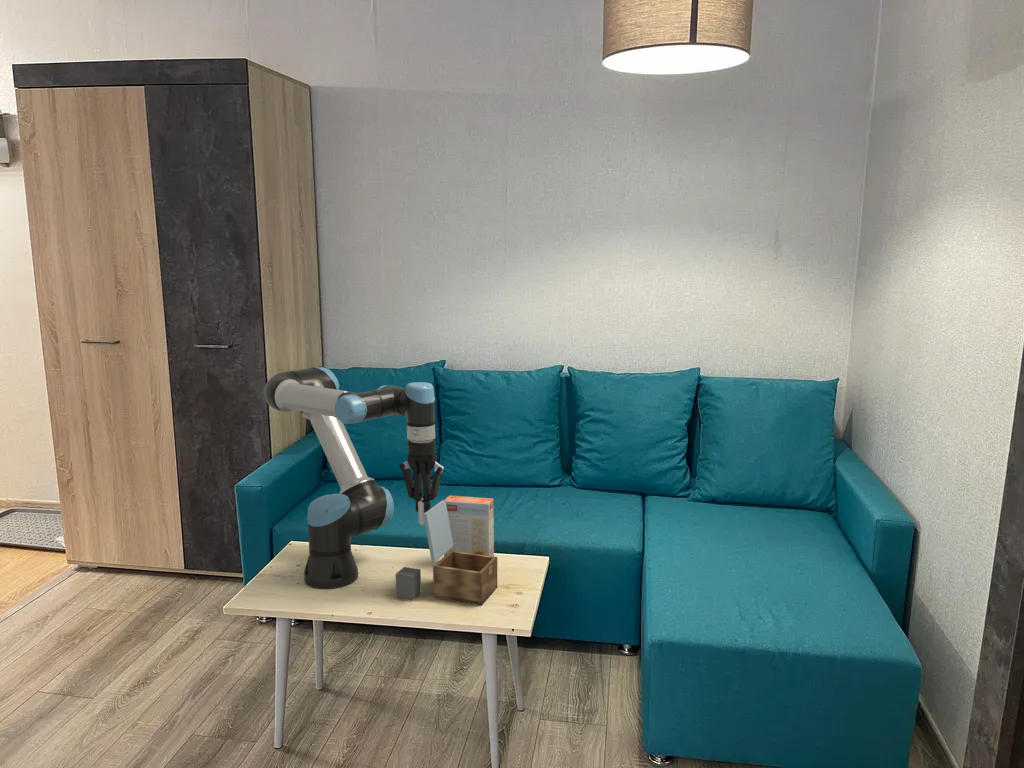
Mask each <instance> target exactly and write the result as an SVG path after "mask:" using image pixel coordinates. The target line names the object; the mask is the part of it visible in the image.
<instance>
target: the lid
mask: <svg viewBox="0 0 1024 768" xmlns="http://www.w3.org/2000/svg"><path fill="white" fill-rule="evenodd" d="M423 516H424V522H425V524H424V526H425V532H426V538H427V543H428V550H429V554H430V559H431V563H437V562H438V561H439V559H441V558H442V557H444V554H445V553H446V552H447V551H448V550H449V549H450V548H452V547H453V540H452V535H451V529H450V523H449V518H448V512H447V506H446V500H445V499H443V500H441V501H439V502H437V504H435V505H434V506H432V507H430V510H428V511H427V512H426V513H424V514H423Z"/></svg>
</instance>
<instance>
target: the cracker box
mask: <svg viewBox="0 0 1024 768" xmlns="http://www.w3.org/2000/svg"><path fill="white" fill-rule="evenodd" d="M444 500H446V506H447V512H448V518H449V523H450V529H451V535H452V540H453V547H452V548H450V549H449V550H448V551H447V552H446V553H445V554H444V555H443V557H444V556H445V555H447V554H448V553H449V552H450V551H458V552H465V553H472V554H479V555H487V556H494V557H495V554H494V553H495V547H494V546H495V534H494V533H495V532H494V530H495V529H494V527H495V526H494V521H495V520H494V516H495V515H494V511H495V509H494V498H491V497H490V498H489V497H476V496H475V497H474V496H462V495H461V496H460V495H448V496H447V497H446V498H445V499H444Z"/></svg>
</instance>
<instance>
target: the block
mask: <svg viewBox="0 0 1024 768" xmlns="http://www.w3.org/2000/svg"><path fill="white" fill-rule="evenodd" d="M421 574H422V573H421V569H420V568H414V567H408V566H407V567H406V566H403V567H402V568H401V569H400V570H399V571H397V572H396V573H395V599H398V600H406V601H412V602H413V601H415V600H416V599H417V598H418V596H420V595H421V593H422V585H421V584H422V583H421V582H422V581H421Z"/></svg>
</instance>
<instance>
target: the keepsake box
mask: <svg viewBox="0 0 1024 768" xmlns="http://www.w3.org/2000/svg"><path fill="white" fill-rule="evenodd" d="M432 575H433V577H432V580H433V581H432V582H433V583H432V584H433V592H432V593H433V598H434V599H437V600H438V599H439V600H444V601H451V602H455V603H462V604H469V605H476V606H480V607H482V606H483V605H484V604H485V603H486V601H487V600H488V599H489V598H490V597H491V596H492V595H493V594H494V592H495V591H496V590H497V588H498V556H495V555H494V556H487V555H479V554H472V553H465V552H458V551H450V552H449V553H448V554H447V555H445V556H444V555H443V556H442V557H441V558H440V560H438V561H437V562H436V563H435V564H434V565H433V566H432Z"/></svg>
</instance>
